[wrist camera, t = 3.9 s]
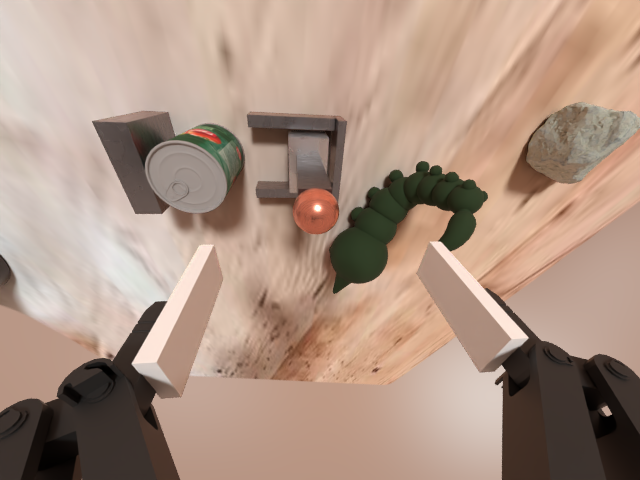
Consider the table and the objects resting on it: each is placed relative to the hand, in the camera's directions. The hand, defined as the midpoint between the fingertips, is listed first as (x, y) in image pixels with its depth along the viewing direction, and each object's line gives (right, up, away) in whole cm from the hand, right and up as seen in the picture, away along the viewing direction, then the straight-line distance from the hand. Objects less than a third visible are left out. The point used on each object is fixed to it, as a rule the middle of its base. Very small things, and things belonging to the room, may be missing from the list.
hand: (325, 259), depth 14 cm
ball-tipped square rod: (-2, +14, +20) cm, 24 cm away
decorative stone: (+38, +17, +23) cm, 47 cm away
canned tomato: (-15, +14, +19) cm, 28 cm away
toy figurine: (+8, +6, +27) cm, 29 cm away
